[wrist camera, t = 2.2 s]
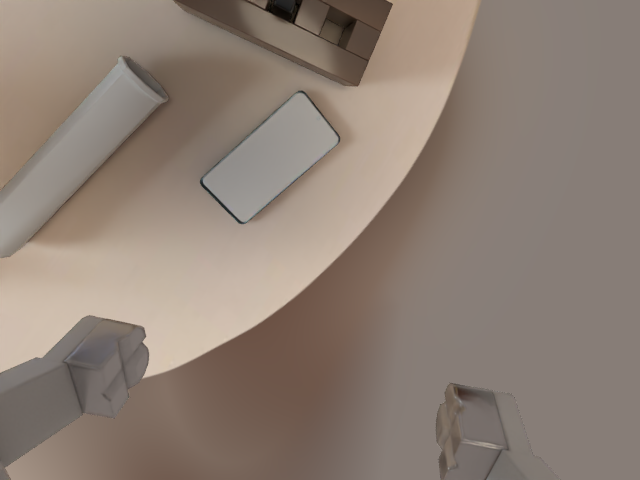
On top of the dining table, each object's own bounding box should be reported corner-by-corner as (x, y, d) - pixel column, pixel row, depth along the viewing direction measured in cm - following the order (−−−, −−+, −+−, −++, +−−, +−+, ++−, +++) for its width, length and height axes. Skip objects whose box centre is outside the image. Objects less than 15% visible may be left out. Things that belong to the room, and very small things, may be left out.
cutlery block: (345, 86, 43) (358, 86, 38) (183, 10, 39) (170, -2, 33) (375, 14, 41) (393, 3, 36) (207, -75, 37) (197, -103, 31)
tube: (5, 276, 42) (170, 107, 38) (-56, 250, 39) (119, 61, 35) (17, 247, 46) (168, 91, 42) (-36, 221, 43) (122, 49, 39)
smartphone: (197, 181, 44) (301, 87, 42) (198, 180, 45) (301, 88, 43) (242, 226, 47) (342, 140, 45) (242, 225, 47) (341, 139, 45)
